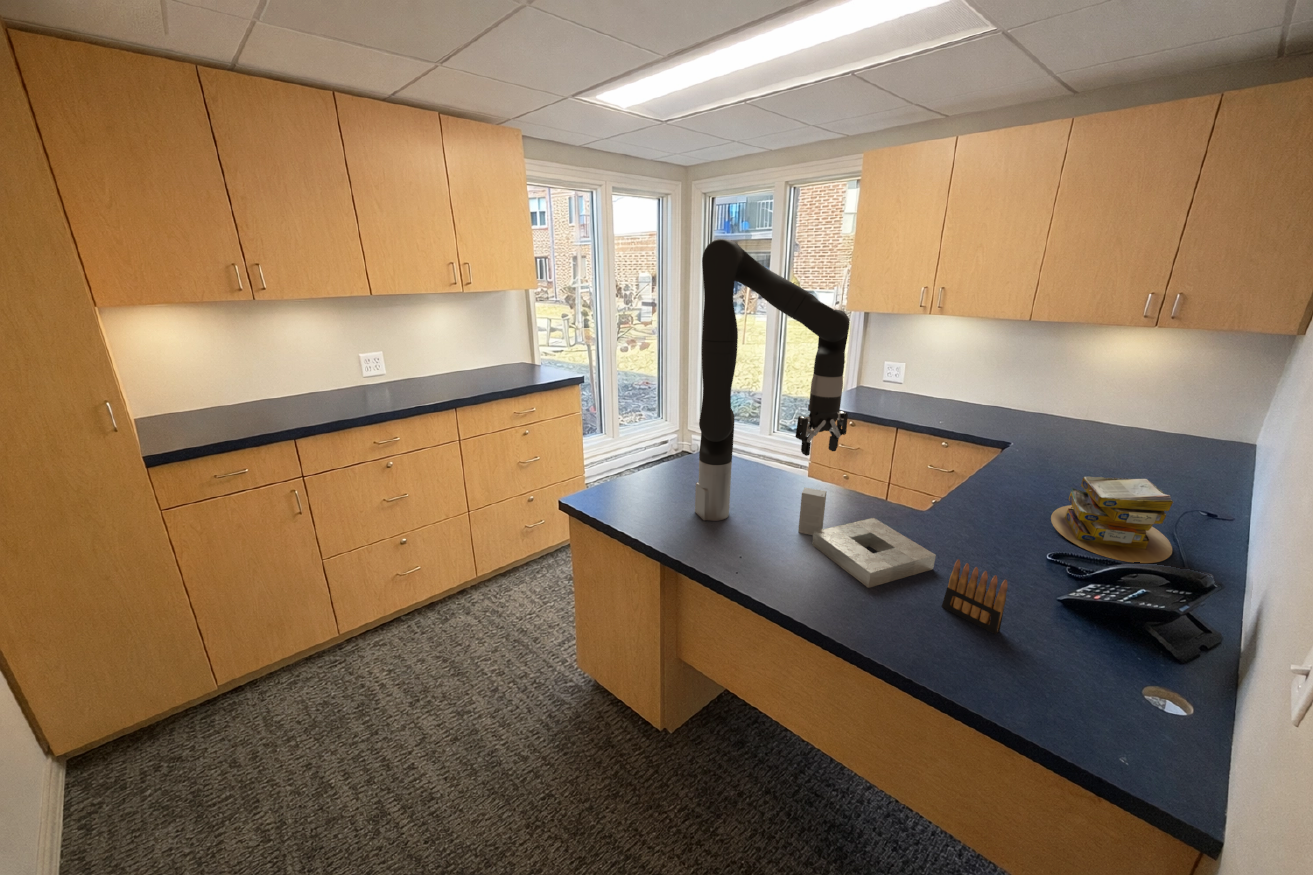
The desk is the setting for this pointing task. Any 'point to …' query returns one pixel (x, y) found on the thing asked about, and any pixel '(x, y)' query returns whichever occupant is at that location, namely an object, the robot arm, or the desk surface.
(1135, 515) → the stacked yellow boxes
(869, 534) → the frame
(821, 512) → the skincare box
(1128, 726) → the desk surface
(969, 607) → the ammunition clip
